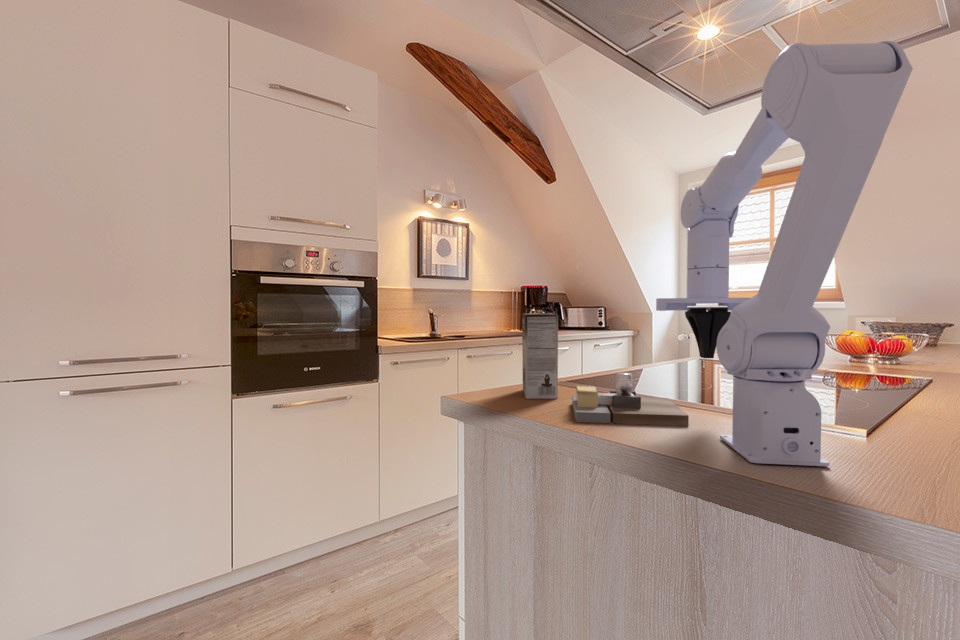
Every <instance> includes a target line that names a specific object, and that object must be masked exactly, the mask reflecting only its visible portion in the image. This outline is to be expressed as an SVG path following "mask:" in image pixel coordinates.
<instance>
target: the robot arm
mask: <svg viewBox="0 0 960 640" xmlns="http://www.w3.org/2000/svg"><path fill="white" fill-rule="evenodd" d="M909 60H910V59H908V56H907V54H906V52H905V50H904V49H903V47H902V45H901V44H899V43H898V42H896V41H893V40H885V41H879V42H869V43H868V42H863V43H822V44H821V43H819V44H818V43H817V44H814V43H813V44H806V43H803V42H794V43H791V44H789V45H787V46H786V47H785V48H784V49H783V50H782V51H781V52H780V53H779V54H778V56H777V57H776V58H775V59H774V60H773V61H772V64H771V65H770V67H769V69H768V71H767V74H766V77H765V78H764V81H763V85H762V90H761V98H760V99H761V100H760V103H761V109H760V111H759V112H758V114H757V115H756V117H755V118H754V121H753V123H751V125H750V127H749V129H748V130H747V132H746V134H745V135H744V137H743V139H742V141H741V143H740V144H739V145H738V147H737V149H736V151H733V152H732V151H731V152H728V153H726V154H724V155H723V156H722V157H720V159H719V161H717V164H715V166H714V167H713V169H712V170H711V171H710V173H709V174H708V176H707V178H705V180H704V182H703V183H702V184H701V186H695V188H689V189H688V190H687V191H686V192H685V195H684V196H683V198H682V201H681V205H680V221H681V224H682V227H683V228H685V229H687V234H686V235H687V243H686V244H687V246H686V247H687V248H686V255H687V256H686V257H687V258H686V297H676V298H674V297H673V298H671V297H669V298H665V297H664V298H662V297H661V298H656V301H655V303H656V304H655V305H656V308H655V310H656V311H661V312H663V311H684V315H685V318H686V320H687V322H688V324H689V325H690V327H691V328H690V329H691V330H692V332H693V335H694V337H695V340H696V343H697V348H698V353H699V358H701V359H714V357H715V352H716V354H717V358H718V361H719V362H720V364H721V366H722V368H724V370H725V371H727V372H726V373H727V375H731V376H733V377H732V434H720V435H719V439H721V440H722V441H723V442H724V443H726V444H727V445H728V446H730V447H731V448H732V449H733V450H734V451H736V453H738V454H740V455H741V456H742V457H743V458H745V459H746V460H747V461H748V462H750V463H753V464H765V465H768V464H769V465H787V466H789V465H790V466H810V467H815V466H816V467H830V462H829V461H828V460H826V459H825V458H823V457H821V452H822V451H821V450H822V449H821V447H822V444H821V443H822V408H821V406H820V403H819V401H818V399H817V398H816V397H815V395H814V394H812V393H811V392H809V391H808V390H807V388H806V384H805V383H806V382H805V381H806V380H812V379H813V375H812V373H814V372H815V371H817V370H818V369H819V368H820V366H821V365H822V363H823V361H824V357H825V355H826V339H827V336H828V333H829V331H830V329H831V325H830V323H829V322H828V321H827V319H826V317H824V315H823V314H822V313H821V312H820V311H819V310H817V309H816V308H815V307H814V305H815V302H816V300H817V298H818V295H819V292H820V290H821V287H822V285H823V284H824V281H825V279H826V276H827V275H828V274H827V273H828V271H829V270H830V269H829V268H830V267H831V264H832V262H833V259H834V257H835V255H836V253H837V250H838V248H839V246H840V242H841V241H842V238H843V236H844V234H845V231H846V229H847V226H848V224H849V223H850V219H851V217H852V214H853V212H854V210H855V208H856V205H857V203H858V201H859V199H860V196H861V194H862V191H863V189H864V186H865V184H866V181H867V179H868V177H869V175H870V173H871V170H872V167H873V165H874V163H875V160H876V157H877V156H878V154H879V152H880V148H881V146H882V143H883V140H884V138H885V134H886V133H887V130H888V128H889V126H890V123H891V121H892V119H893V116H894V114H895V111H896V109H897V107H898V105H899V103H900V100H901V97H902V95H903V93H904V90H905V88H906V86H907V84H908V81H909V79H910V76H911V73H912V71H913V65H912V64H911V63H910V61H909ZM788 139H792V140H793V141H796V142H798V143H800V146H801V148H802V149H803V151H804V158H803V162H802V164H801V168H800V170H799V173H798V176H797V178H796V181H795V185H794V187H793V191H792V193H791V197H790V200H789V202H788V205H787V207H786V211H785V214H784V217H783V218H782V219H783V220H782V223H781V226H780V229H779V231H778V234H777V235H776V236H777V237H776V240H775V242H774V244H773V245H774V246H773V249H772V251H771V254H770V257H769V260H768V263H767V266H766V268H765V271H764V274H763V277H762V280H761V284H760V286H759V288H758V292H757V294H755V295H754V296H752V297H730V296H729V294H730V293H729V291H730V289H729V284H730V283H729V281H730V275H729V273H730V239H731V238H732V237H733V234H734V230H735V228H734V227H735V223H736V220H737V217H738V214H739V213H738V212H739V207H740V203H741V202H743V200H744V199H745V198H746V197H747V196H748V195H749V193H750V192H751V191H752V190H753V188H755V186H756V185H757V184H758V183H759V182H760V181H761V179H762V176H763V167H762V165H763V164H764V163H765V162H766V161H767V160H768V159H770V157H771V156H772V155H773V154H774V153H775V152H776V151H777V150H778V149H779V148H781V146H782V145H784V144H785V142H786V141H787V140H788ZM697 304H717V306H697ZM696 306H697V307H696Z"/></svg>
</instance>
